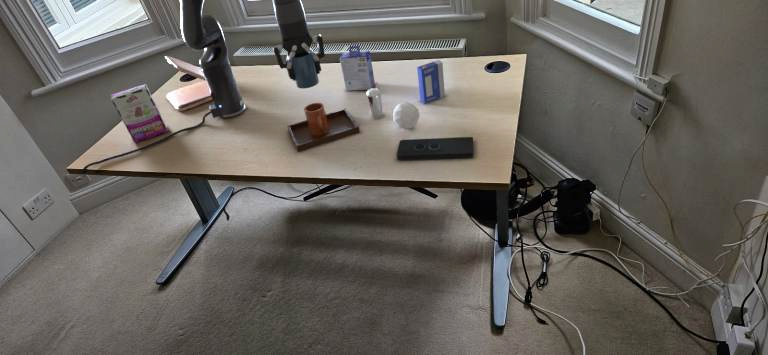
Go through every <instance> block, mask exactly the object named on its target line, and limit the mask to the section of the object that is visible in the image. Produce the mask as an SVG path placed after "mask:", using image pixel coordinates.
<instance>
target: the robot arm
mask: <svg viewBox="0 0 768 355" xmlns="http://www.w3.org/2000/svg"><path fill="white" fill-rule="evenodd" d="M204 2H205V0H179V3H180V29H181V35H182V38H183V41H184V42H185V45H186V46H187V47H188V48H189V49H190V50H192V51H195V52H200V51H202V50H204V51H203V54H202V56H201V58H199V60H198V61H199V62H198V63H199V66H200V67H199V68H201V69H202V72H203V74H204V77H205V79H206V82H207V84H208V87H209V90H210V94H211V97H212V99H213V100H212V102H213V103H212V104H209V110H210V111H208V112H206V113H205V114H204V115H203V116H202V121H201V122H199V123H198V124H196V125H194V126H190V127H185V128H182V129H179V130H176V131H174V132H173V133H171V134H169V135H167V136H164V137H163V138H160V139H159V140H156V141H154V142H152V143H149V144H147V145H143V146H141V147H137V148H136V149H132V150H129V151H127V152H124V153H121V154H115V155H113V156H109V157H106V158H103V159H101V160H98V161H97V160H96V161H93V162H91V163H88V164H87V165H85V166H84V167H83V168H82V170H81V172H80V173H81V174H84V173H85V172H86V170H87V169H88V168H90V167H92V166H95V165H98V164H101V163H104V162H107V161H110V160H114V159H116V158H120V157H124V156H128V155H130V154H133V153H137V152H139V151H143V150H145V149H147V148H150V147H153V146H155V145H157V144H160V143H162V142H164V141H166V140H168V139H170V138H172V137H174V136H176V135H179V134H180V133H182V132H185V131H190V130H194V129H196V128H199V127H200V126H203V125H204V123H205V121H206V118H207V117H208V116H209V115H212V118H213V119H215V118H219V119H227V118H233V117H234V118H235V117H236V116H239V115H241V114H242V113H244V112H245V111H246V108H247V107H246V105H245V99H244V98H243V97H242V94H241V91H240V89H239V86H238V82H237V80H236V77H235V74H234V72H233V69H232V66H231V63H230V60H229V49H228V46H227V43H226V40H225V37H224V33H223V30H222V27H221V25H220V23H219V21H218V20H217V19H216V18H215V16H213V15H212V14H210V13H204V14H203V13H202V12H203V7H204V6H203V5H204ZM272 4H273V11H274V15H275V19H276V22H277V27H278V31H279V33H280V37H281V44H278V45H275V44H274V45H272V46H271V49H272V51H273V55H274V57H275V60H276V62H277V64H278V66H279V68H280V69H286V71H287V74H288V77H289V79H290V80H292V81H294V82H295V80H296V79H295V76H294V72H293V68H292V67H291V66H292V58H294V56H295V57H297V56H299V55H304V54H306V53H307V52H308V53H309V54H310V53H311V54H312V56H313V59H314V62H315V66H316V70H317V74H318V75H320V74H321V73H320V72H321V71H322V66H321V62H320V60H321V59H322V58H325V56H326V54H325V46H324V41H323V36H322V35H321V34H320V33H316V35H311V34H310V31H309V26H308V22H307V19H306V12H305V10H304V5H303V3H302V1H301V0H272ZM313 42H314V43H315V44H316V45H317V53H315V52H314V51H313V49H312V48H311V46H312V43H313ZM282 50H285V51H286V52H287V54H286V59H285V61H283V58H282V56H281V54H282V53H283V52H282ZM289 55H290V56H289Z"/></svg>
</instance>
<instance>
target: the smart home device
mask: <svg viewBox="0 0 768 355" xmlns="http://www.w3.org/2000/svg"><path fill="white" fill-rule="evenodd" d="M473 158H474V137H473V136H461V137H460V136H459V137H435V138H414V139H412V138H411V139H401V140H399V142H398V148H397V151H396V159H397V161H425V160H427V161H428V160H430V161H431V160H455V159H456V160H457V159H473Z"/></svg>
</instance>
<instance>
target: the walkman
mask: <svg viewBox="0 0 768 355" xmlns="http://www.w3.org/2000/svg"><path fill="white" fill-rule="evenodd" d="M416 70H417V80H418V89H419V97H420V102H422V103H423V104H424V105H426V104H428V103H431V102H434V101H437V100H440V99H442V98H445V97H446V91H445V78H444V65H443V61H441V60H439V59H437V60H434V61H431V62H428V63H426V64H422V65H419V66H417V67H416Z"/></svg>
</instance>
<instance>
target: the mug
mask: <svg viewBox="0 0 768 355" xmlns="http://www.w3.org/2000/svg"><path fill="white" fill-rule="evenodd" d="M303 112H304V115H305V120H307V123H308V126H309V130H310V133H311V134H312V135H315V136H318V135H323V134H325V133H327V132H328V131H329V125H328V121H327V117H326V114H327V113H326V109H325V105H324V103H322V102H313V103H308V104H307V105H305V107H304V108H303Z"/></svg>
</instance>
